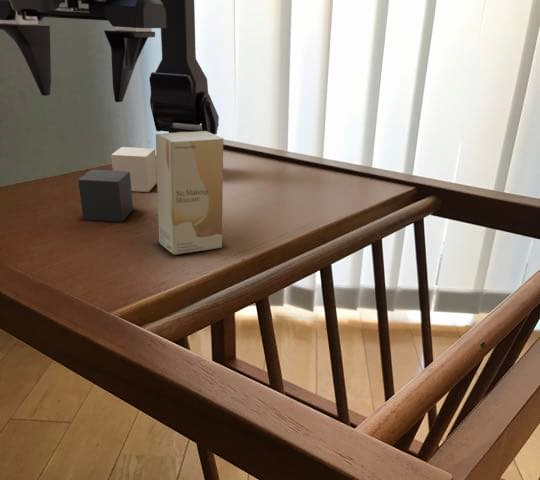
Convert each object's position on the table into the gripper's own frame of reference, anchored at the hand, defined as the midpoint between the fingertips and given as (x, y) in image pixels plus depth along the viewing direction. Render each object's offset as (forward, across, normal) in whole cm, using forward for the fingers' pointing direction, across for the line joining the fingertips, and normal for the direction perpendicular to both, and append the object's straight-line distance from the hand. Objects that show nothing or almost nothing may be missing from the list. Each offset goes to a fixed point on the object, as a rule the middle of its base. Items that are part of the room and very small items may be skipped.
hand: (81, 98), depth 70 cm
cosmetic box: (+15, +14, -2) cm, 20 cm away
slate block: (+14, -1, +5) cm, 15 cm away
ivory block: (+14, -4, +18) cm, 23 cm away
